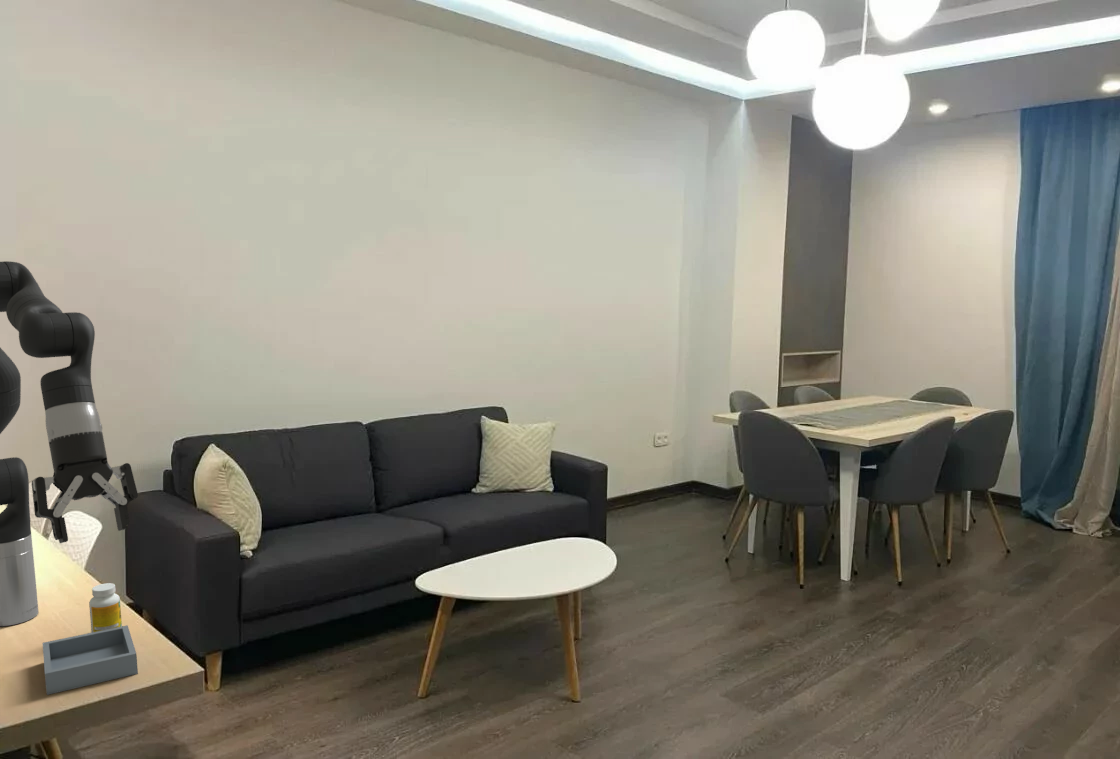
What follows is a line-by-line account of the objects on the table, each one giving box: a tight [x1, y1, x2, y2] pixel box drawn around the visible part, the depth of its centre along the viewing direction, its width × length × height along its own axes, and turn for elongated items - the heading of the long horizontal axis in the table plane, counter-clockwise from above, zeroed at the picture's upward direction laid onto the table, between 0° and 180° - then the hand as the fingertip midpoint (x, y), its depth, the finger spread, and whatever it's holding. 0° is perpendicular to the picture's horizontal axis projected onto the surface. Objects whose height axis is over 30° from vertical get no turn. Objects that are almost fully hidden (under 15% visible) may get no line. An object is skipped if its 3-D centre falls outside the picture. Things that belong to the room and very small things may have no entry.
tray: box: [42, 624, 139, 696], centre depth 155 cm, size 14×14×4 cm
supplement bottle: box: [89, 582, 123, 633], centre depth 169 cm, size 5×5×10 cm
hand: (93, 536), depth 134 cm, fingers open, 8 cm apart
